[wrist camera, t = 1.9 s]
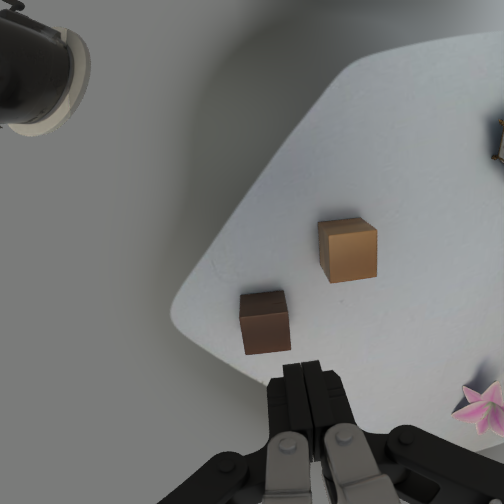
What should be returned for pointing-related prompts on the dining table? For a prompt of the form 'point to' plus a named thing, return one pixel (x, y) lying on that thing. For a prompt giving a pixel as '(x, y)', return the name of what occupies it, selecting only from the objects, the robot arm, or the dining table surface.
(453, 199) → the dining table surface
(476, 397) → the lily
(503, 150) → the game die
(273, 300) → the walnut block
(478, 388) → the dining table surface
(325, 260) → the oak block
